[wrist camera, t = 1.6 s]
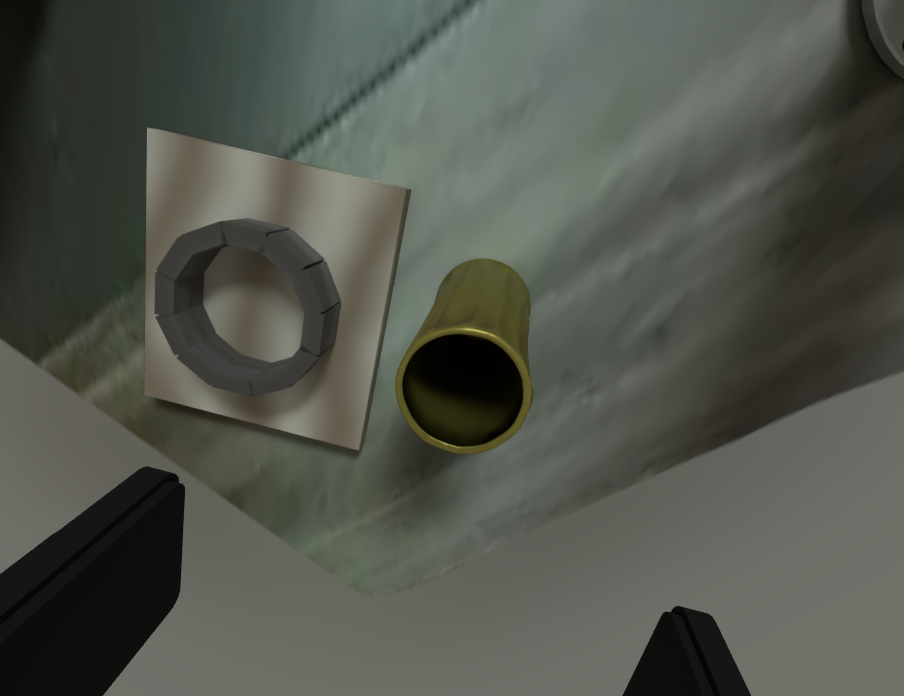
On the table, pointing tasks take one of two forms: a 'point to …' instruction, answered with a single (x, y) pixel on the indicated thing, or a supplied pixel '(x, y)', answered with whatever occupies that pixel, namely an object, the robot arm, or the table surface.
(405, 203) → the plate
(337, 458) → the table surface
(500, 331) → the vase
